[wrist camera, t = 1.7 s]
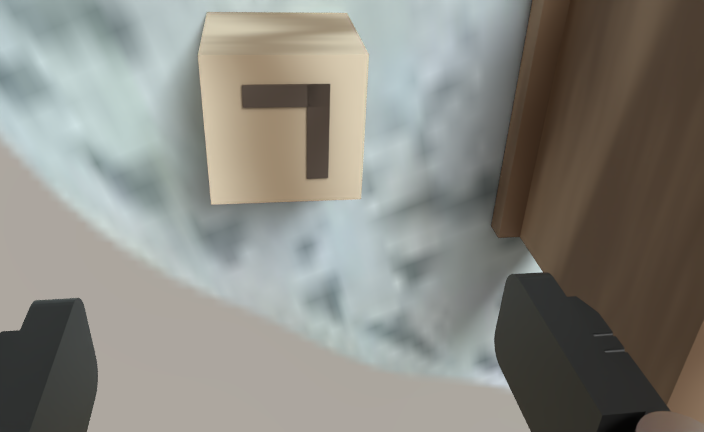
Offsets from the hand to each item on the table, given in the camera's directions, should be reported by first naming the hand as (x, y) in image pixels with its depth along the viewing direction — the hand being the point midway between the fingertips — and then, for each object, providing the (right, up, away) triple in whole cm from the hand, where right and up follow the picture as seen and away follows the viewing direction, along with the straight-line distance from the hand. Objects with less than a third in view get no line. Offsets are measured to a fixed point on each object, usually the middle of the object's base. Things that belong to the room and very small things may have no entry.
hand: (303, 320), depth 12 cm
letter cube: (-2, +7, +12) cm, 14 cm away
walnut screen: (+10, +8, +13) cm, 18 cm away
